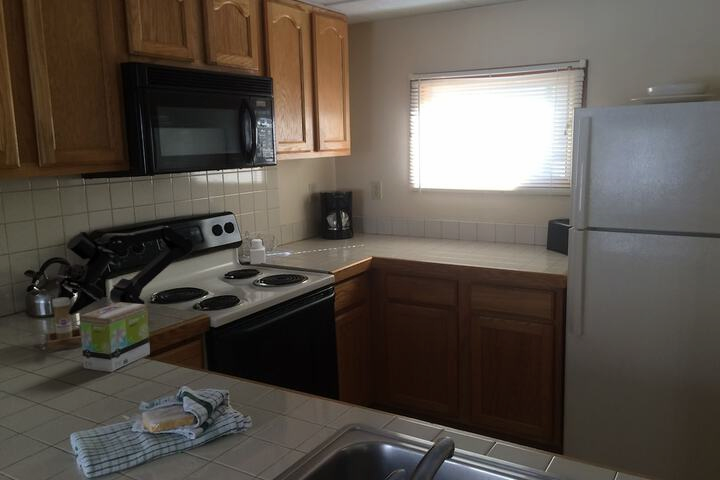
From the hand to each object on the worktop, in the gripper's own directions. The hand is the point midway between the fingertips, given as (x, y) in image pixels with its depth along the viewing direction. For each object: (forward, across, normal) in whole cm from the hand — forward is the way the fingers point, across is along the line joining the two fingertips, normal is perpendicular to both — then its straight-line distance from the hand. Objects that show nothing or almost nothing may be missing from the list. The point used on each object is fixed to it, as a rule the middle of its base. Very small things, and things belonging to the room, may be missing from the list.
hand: (62, 311), depth 181 cm
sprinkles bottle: (+7, -1, +7) cm, 10 cm away
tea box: (+7, +27, +8) cm, 29 cm away
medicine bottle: (-76, -45, +92) cm, 127 cm away
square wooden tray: (+7, 0, +7) cm, 10 cm away
